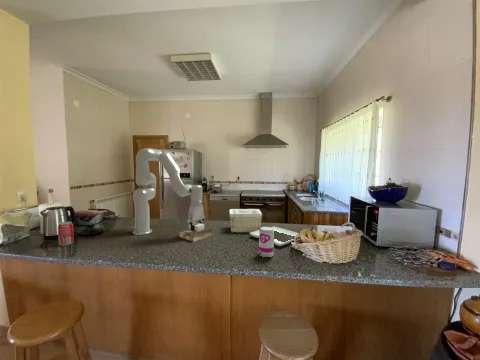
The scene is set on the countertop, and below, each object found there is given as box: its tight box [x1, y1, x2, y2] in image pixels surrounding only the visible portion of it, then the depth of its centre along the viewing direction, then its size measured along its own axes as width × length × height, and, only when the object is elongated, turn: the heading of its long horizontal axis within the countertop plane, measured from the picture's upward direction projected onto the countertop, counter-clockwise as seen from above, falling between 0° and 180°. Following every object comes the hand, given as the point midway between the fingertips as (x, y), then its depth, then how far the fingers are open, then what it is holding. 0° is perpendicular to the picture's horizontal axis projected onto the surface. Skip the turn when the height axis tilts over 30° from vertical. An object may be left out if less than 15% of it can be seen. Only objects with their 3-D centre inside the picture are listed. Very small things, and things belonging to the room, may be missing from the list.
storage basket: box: [228, 208, 263, 233], centre depth 170 cm, size 24×16×15 cm
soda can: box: [57, 221, 75, 247], centre depth 133 cm, size 7×7×13 cm
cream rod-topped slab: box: [187, 221, 205, 232], centre depth 152 cm, size 10×6×6 cm, turn 52°
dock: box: [177, 226, 213, 243], centre depth 153 cm, size 16×16×6 cm
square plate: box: [249, 226, 300, 247], centre depth 151 cm, size 27×27×4 cm
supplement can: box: [258, 226, 275, 258], centre depth 123 cm, size 8×8×15 cm
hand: (196, 229), depth 152 cm, fingers closed on cream rod-topped slab, 6 cm apart
